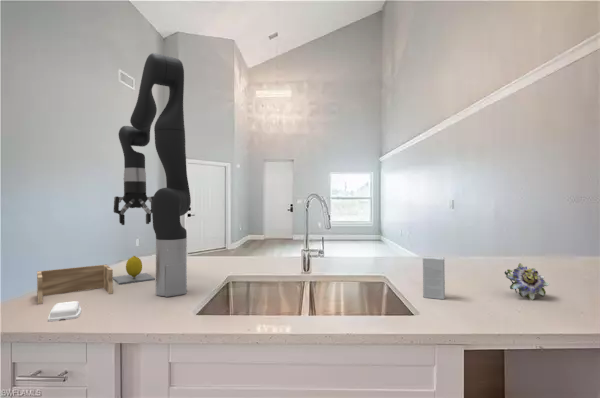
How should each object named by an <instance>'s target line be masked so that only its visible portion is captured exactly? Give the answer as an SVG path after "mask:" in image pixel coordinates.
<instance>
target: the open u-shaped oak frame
mask: <svg viewBox="0 0 600 398" xmlns="http://www.w3.org/2000/svg"><path fill="white" fill-rule="evenodd" d="M113 275H114V274H113V269H112V268H111V267H110V266H109V265H108V264H98V265H89V266H78V267H68V268H59V269H58V268H57V269H48V270H39V271H38V270H37V271H36V297H37V304H38V305H42V304H43V297H44V296H52V295H59V294H66V293H73V292H80V291H81V292H82V291H88V290H89V289H90V290H95V289H104V290H105V291H106V292H107V293H108V295H111V294H112V295H113V292H114V291H113V289H114V288H113V286H114V285H113V281H114V279H113V277H114V276H113Z"/></svg>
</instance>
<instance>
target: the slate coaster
mask: <svg viewBox="0 0 600 398" xmlns="http://www.w3.org/2000/svg"><path fill="white" fill-rule="evenodd" d="M113 281H114V282H115V283H117V284H118V285H126V284H133V283H134V284H135V283H143V282H149V281H156V277H154V276H152V275H150V274H149V273H148V272H142V273H141V272H140V274H138V275H137V276H136V277H132V276H131V275H129V274H125V275H118V276H117V275H116V276H113Z"/></svg>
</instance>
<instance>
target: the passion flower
mask: <svg viewBox="0 0 600 398" xmlns="http://www.w3.org/2000/svg"><path fill="white" fill-rule="evenodd" d="M504 275H505V278H507V279H509V280H510V282H511V285H510V286H509V288H510V289H511V290H514V291H515V293H518V292H519V295H520V296H521V298H524V297H526V298H528V300H530V301H533V300H534V299H535V296H536V293H537V294H538V295H539V296H542V297H545V295H546V293H547V292H546V289H545V287H548V286H550V283H549V282H548V281H545V276H544V275H541V274H539V271H538V270H536V267H532V268H528V266H524V264H522V263H520V262H519V263H518V265H517V267H516V268H514V269H509V268H508V269H507V270H505V271H504ZM517 290H518V292H517Z"/></svg>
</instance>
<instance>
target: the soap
mask: <svg viewBox="0 0 600 398" xmlns="http://www.w3.org/2000/svg"><path fill="white" fill-rule="evenodd" d="M81 313H82V307H81V306H80V302H79V301H78V300H75V301H74V300H73V301H65V302H57V303H55V304H54V305H53V306H52V308H51V310H50V313H49V315H48V317H47V322H59V321H60V320H64V319H65V320H66V321H68V320H74V319H78V318H79V317H80V315H81Z"/></svg>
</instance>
